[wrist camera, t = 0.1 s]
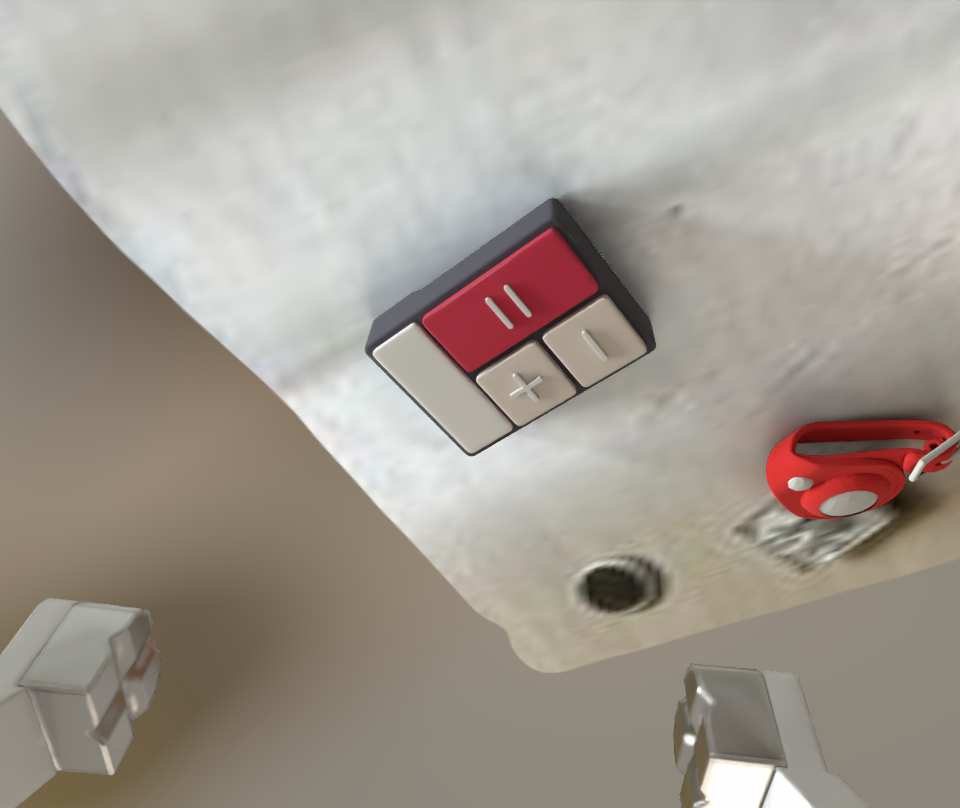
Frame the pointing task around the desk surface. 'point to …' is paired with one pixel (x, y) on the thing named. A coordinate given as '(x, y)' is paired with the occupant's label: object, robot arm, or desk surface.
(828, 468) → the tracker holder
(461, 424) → the calculator
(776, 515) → the desk surface
